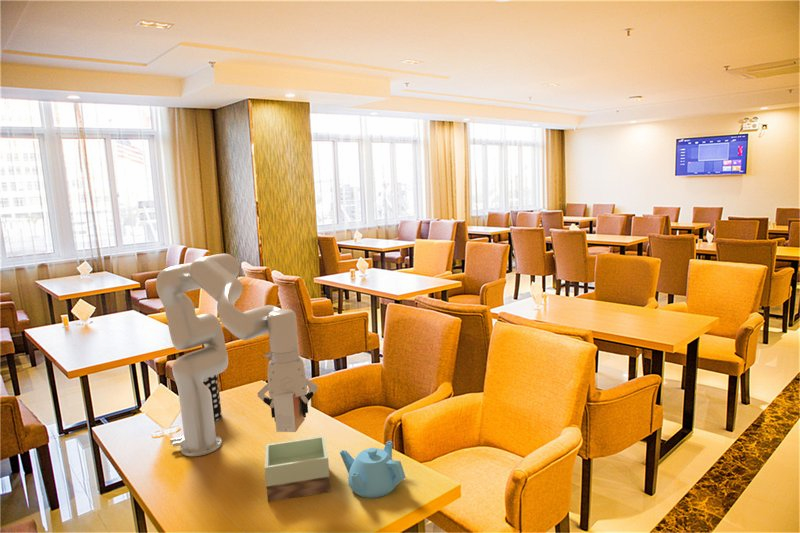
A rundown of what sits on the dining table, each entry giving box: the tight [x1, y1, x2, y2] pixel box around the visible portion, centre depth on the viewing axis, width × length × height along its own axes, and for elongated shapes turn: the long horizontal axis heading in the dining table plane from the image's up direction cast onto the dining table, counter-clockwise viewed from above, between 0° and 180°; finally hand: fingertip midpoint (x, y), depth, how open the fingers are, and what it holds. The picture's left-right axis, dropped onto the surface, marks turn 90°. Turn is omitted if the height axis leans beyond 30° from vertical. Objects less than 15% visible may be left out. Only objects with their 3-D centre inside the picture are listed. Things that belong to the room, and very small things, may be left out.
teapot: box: [339, 440, 407, 499], centre depth 146 cm, size 15×15×11 cm
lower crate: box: [266, 476, 332, 503], centre depth 150 cm, size 17×13×4 cm
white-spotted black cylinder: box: [203, 374, 223, 423], centre depth 193 cm, size 8×8×20 cm
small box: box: [273, 393, 306, 433], centre depth 146 cm, size 8×6×10 cm
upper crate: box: [264, 435, 330, 488], centre depth 149 cm, size 17×13×5 cm
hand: (290, 417), depth 147 cm, fingers closed on small box, 7 cm apart
